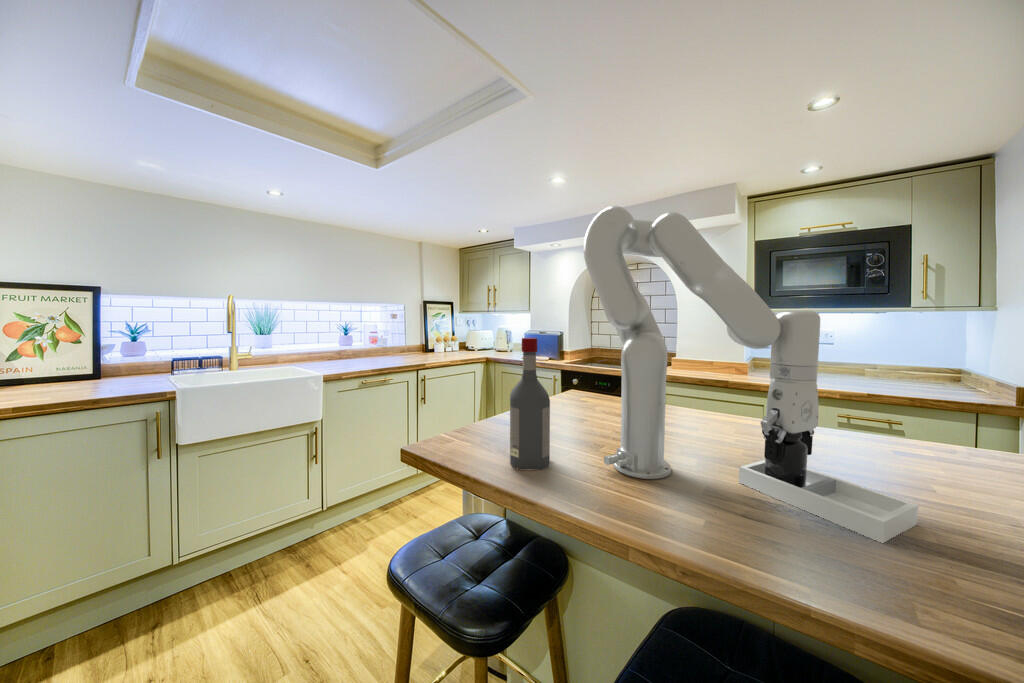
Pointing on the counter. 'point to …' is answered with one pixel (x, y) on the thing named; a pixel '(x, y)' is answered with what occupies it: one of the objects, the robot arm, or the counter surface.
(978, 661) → the counter surface
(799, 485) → the supplement bottle
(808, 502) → the caddy
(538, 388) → the liquor
